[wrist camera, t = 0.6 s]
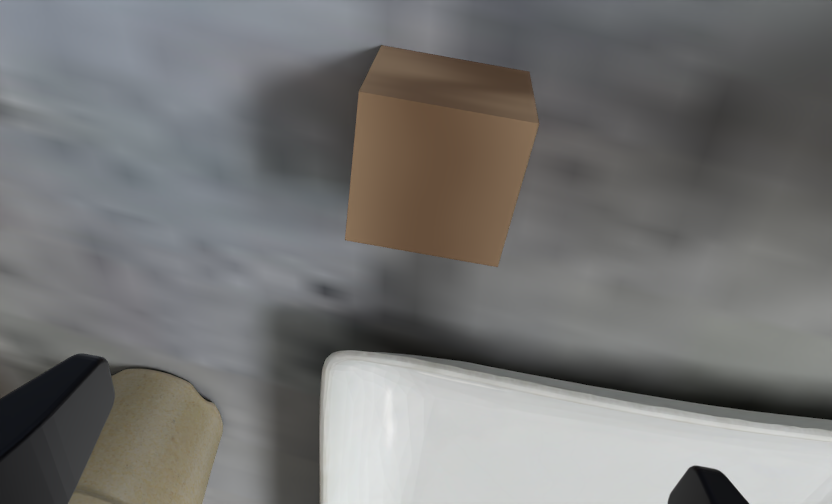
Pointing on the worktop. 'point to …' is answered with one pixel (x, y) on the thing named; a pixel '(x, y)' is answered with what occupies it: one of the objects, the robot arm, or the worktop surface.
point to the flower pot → (152, 444)
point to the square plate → (542, 439)
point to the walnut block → (439, 155)
